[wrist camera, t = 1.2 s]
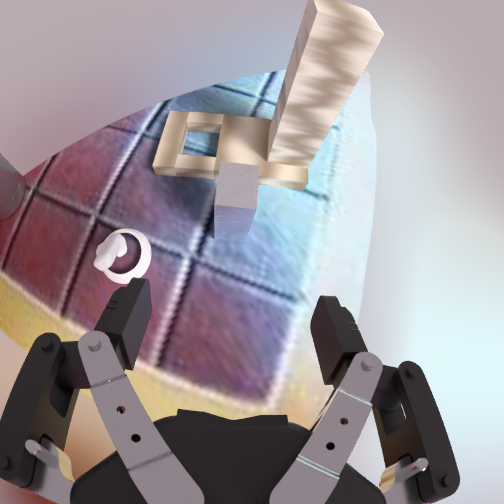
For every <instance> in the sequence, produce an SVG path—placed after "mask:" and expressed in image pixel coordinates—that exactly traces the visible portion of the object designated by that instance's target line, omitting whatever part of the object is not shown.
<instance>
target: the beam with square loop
mask: <svg viewBox="0 0 504 504" xmlns="http://www.w3.org/2000/svg"><path fill="white" fill-rule="evenodd" d="M383 35H384V33H383V32H382V30H381V29H380V27H379V26H378V24H377V23H376V21H375V20H374V18H373V17H372V16H371V14H370V13H369V12H368V10H365V9H362V8H360V7H357V6H354V5H352V4H349V3H346V2H343V1H340V0H308V4H307V6H306V9H305V12H304V16H303V19H302V22H301V25H300V28H299V32H298V35H297V38H296V41H295V44H294V48H293V51H292V54H291V57H290V61H289V64H288V67H287V71H286V74H285V77H284V81H283V84H282V88H281V91H280V94H279V98H278V101H277V105H276V108H275V111H274V115H273V118H272V120H268V119H261V118H254V117H246V116H238V115H229V114H218V113H205V112H188V111H170V113H169V116H168V118H167V121H166V124H165V127H164V130H163V133H162V136H161V140H160V143H159V146H158V149H157V153H156V156H155V159H154V163H153V169H154V172H155V174H156V175H164V176H179V177H192V178H203V179H214V180H218V176H219V169H220V163H221V161H223V162H232V163H241V164H250V165H257V166H259V178H258V185H266V186H273V187H280V188H287V189H294V190H301V191H303V190H304V189H305V187H306V185H307V184H308V167H309V165H310V164H311V162H312V160H313V158H314V157H315V155H316V153H317V151H318V150H319V148H320V146H321V144H322V143H323V141H324V139H325V138H326V136H327V134H328V132H329V131H330V129H331V127H332V125H333V124H334V122H335V120H336V118H337V117H338V115H339V113H340V111H341V110H342V108H343V106H344V104H345V103H346V101H347V99H348V97H349V96H350V94H351V92H352V90H353V89H354V87H355V85H356V83H357V82H358V80H359V78H360V76H361V75H362V73H363V71H364V69H365V67H366V66H367V64H368V62H369V60H370V59H371V57H372V55H373V53H374V51H375V50H376V48H377V46H378V44H379V42H380V41H381V39H382V37H383ZM188 131H191V132H205V133H217V134H220V137H219V143H218V148H217V154H216V157H207V156H195V155H182V152H183V148H184V144H185V140H186V136H187V132H188Z"/></svg>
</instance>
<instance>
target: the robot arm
mask: <svg viewBox="0 0 504 504" xmlns="http://www.w3.org/2000/svg"><path fill="white" fill-rule="evenodd" d="M24 193H25V179H24V177H23V176H22V175H21V174H20V173H19V172H18V171H17V170H16V169H15V168H14V167H13V166H12V165H11V164H10V163H9V162H8V161H7V160H6V159H5V158H4V157H3V156H2V155H1V154H0V220H4V219H7V218H9V217H10V216H11V215H12V214H13V213H14V212H15V211H16V210H17V208H18V207H19V205H20V203H21V201H22V199H23V196H24ZM151 310H152V304H151V295H150V286H149V280H148V279H143V278H136V277H132V279H131V280H130V282H129V284H128V286H127V287H122V286H121V287H120V288H119V289H118V290H116V291H115V292H114V293H113V295H112V296H111V298H110V300H109V302H108V304H107V306H106V308H105V309H104V311H103V313H102V315H101V317H100V319H99V321H98V323H97V325H96V327H95V329H94V331H91V332H88V333H86V334H84V335H83V336H82V337H81V338H80V340H79V341H70V342H61V340H60V338H59V337H58V336H57V335H56V334H54V333H44V334H42V335H40V336H39V337H37V339H36V340H35V341H34V343H33V345H32V347H31V349H30V351H29V353H28V355H27V357H26V359H25V362H24V363H23V366H22V368H21V370H20V372H19V374H18V376H17V379H16V381H15V383H14V386H13V388H12V391H11V393H10V396H9V398H8V401H7V403H6V406H5V409H4V412H3V415H2V417H1V420H0V478H2V479H4V480H6V481H7V482H9V483H11V484H13V485H14V486H16V487H18V488H20V489H22V490H24V491H26V492H29V493H31V494H33V495H37V496H40V497H42V498H46V499H49V500H51V501H54V502H56V503H58V504H432V503H434V502H437V501H439V500H441V499H444V498H446V497H448V496H450V495H452V494H454V493H455V492H456V490H457V489H458V486H459V483H460V476H459V471H458V468H457V465H456V461H455V457H454V454H453V450H452V447H451V445H450V441H449V438H448V435H447V432H446V429H445V426H444V423H443V420H442V418H441V415H440V412H439V410H438V407H437V405H436V402H435V399H434V397H433V395H432V392H431V390H430V387H429V385H428V382H427V380H426V377H425V375H424V373H423V371H422V369H421V368H420V366H418V365H417V364H416V363H414V362H411V361H405V362H402V363H401V364H400V365H399V367H398V368H396V367H390V366H386V365H382V362H381V361H380V359H379V358H378V357H377V356H375V355H374V354H372V353H369V352H368V350H367V348H366V345H365V343H364V341H363V338H362V336H361V334H360V332H359V330H358V327H357V325H356V324H355V320H354V318H353V316H352V314H351V313H350V312H349V311H348V310H347V309H346V308H345V307H341V306H340V303H339V301H338V299H337V297H336V296H320V297H319V299H318V302H317V305H316V308H315V310H314V313H313V316H312V319H311V324H310V329H311V334H312V338H313V342H314V345H315V349H316V353H317V357H318V361H319V365H320V369H321V373H322V377H323V381H324V385H332V384H333V386H334V390H333V391H332V393H331V395H330V396H329V398H328V400H327V401H326V403H325V405H324V406H323V408H322V410H321V411H320V413H319V415H318V416H317V418H316V419H315V421H314V422H313V424H312V425H311V427H310V428H309V429H306V428H304V427H303V426H300V425H298V424H295V423H292V422H288V418H287V415H259V416H254V417H249V418H244V419H238V420H230V419H226V418H223V417H219V416H216V415H213V414H210V413H206V412H200V411H191V410H183V409H178V411H177V415H176V416H169V417H165V418H162V419H159V420H157V421H154V422H152V421H151V419H150V417H149V416H148V414H147V412H146V410H145V409H144V407H143V405H142V403H141V402H140V400H139V398H138V396H137V394H136V392H135V390H134V389H133V387H132V385H131V383H130V381H129V379H128V377H127V375H126V374H125V373H124V371H125V369H127V370H132V371H133V368H134V365H135V362H136V358H137V355H138V352H139V349H140V346H141V343H142V340H143V337H144V334H145V331H146V328H147V325H148V322H149V319H150V316H151ZM89 388H90V390H91V393H92V396H93V398H94V401H95V403H96V406H97V408H98V410H99V413H100V415H101V418H102V420H103V422H104V424H105V426H106V429H107V430H108V433H109V435H110V437H111V439H112V441H113V443H114V445H115V447H116V449H117V450H116V451H115V452H113V453H112V454H111V455H110V456H108V457H107V458H105V459H104V460H102V461H101V462H100V463H98V464H97V465H96V466H94V467H93V468H92V469H90V470H89V471H87V472H86V473H84V474H83V475H81V476H80V477H79V478H78V479H77V480H76V481H75V480H74V478H73V476H72V473H71V462H70V459H69V457H68V456H67V455H66V453H65V452H64V447H65V442H66V438H67V433H68V430H69V426H70V422H71V418H72V414H73V410H74V407H75V404H76V400H77V397H78V393H79V390H80V389H89ZM401 404H402V406H403V409H404V412H405V416H406V419H405V416H404V412H403V409H402V406H401ZM371 408H372V410H373V414H374V418H375V422H376V426H377V430H378V434H379V439H380V443H381V447H382V452H383V457H384V462H385V467H386V469H385V470H384V472H383V473H382V476H381V481H380V483H379V486H380V489H379V488H378V487H376V486H375V485H374V484H372V483H371V482H370V481H369V480H367V479H366V478H365V477H363V476H362V475H361V474H360V473H359V472H357V471H356V470H355V469H354V468H352V467H351V466H350V465H349V464H348V463H346V462H347V460H348V458H349V456H350V454H351V452H352V450H353V448H354V446H355V444H356V442H357V440H358V438H359V436H360V434H361V431H362V429H363V427H364V424H365V422H366V420H367V418H368V416H369V413H370V411H371Z"/></svg>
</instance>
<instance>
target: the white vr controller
mask: <svg viewBox="0 0 504 504" xmlns="http://www.w3.org/2000/svg"><path fill="white" fill-rule="evenodd" d="M123 232H124V233H131V234H133V235H134V236H135V237H136V238H137V239H138V241H139V243H140V245H141V257H140V260H139V262H138V264H137V265H136V267H135V268H134V269H133V270H131V271H130V272H128V273H125V274H116V273H113V272H111V271H110V270H109V269H108V268H109V267H110V266H111V265H112V264H113V262H114V260H115V258H116V256H118V257H121V256H123V255H124V254H125V253H126V252H127V247H126V241H125V238H124V237H123V236H122V235H121V234H119V233H123ZM96 255H97V257H96V259H95V261H94V266H95V267H96V268H98V269H99V270H101V271H104V273H105V274H106V276H107V277H108V278H109V279H111V280H112V281H114V282H117V283H122V284H126V283H129V282H130V280H131V279H132V277H136V278H140V277H141V276H142V275H143V274H144V273H145V272H146V270H147V269H148V266H149V264H150V261H151V247H150V244H149V242H148V240H147V238H146V237H145V236H144V235H143V234H142V233H141V232H139V231H137V230H135V229H130V228H124V229H119V230H116V231H114V232H113V233H111V234H110V235H109V236H108V237H107V238H106V239H105V241H104V242H103V243H101V244H99V245H98V248H97V250H96Z"/></svg>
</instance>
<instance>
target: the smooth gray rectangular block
mask: <svg viewBox="0 0 504 504" xmlns="http://www.w3.org/2000/svg"><path fill="white" fill-rule="evenodd" d="M258 178H259V166H257V165H250V164H241V163H232V162H223V161H221V163H220V169H219V176H218V182H217V189H216V196H215V203H214V229H215V240H225V241H234V242H244V243H245V240H246V237H247V234H248V232H249V229H250V226H251V223H252V220H253V217H254V214H255V211H256V206H257V192H258Z"/></svg>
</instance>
